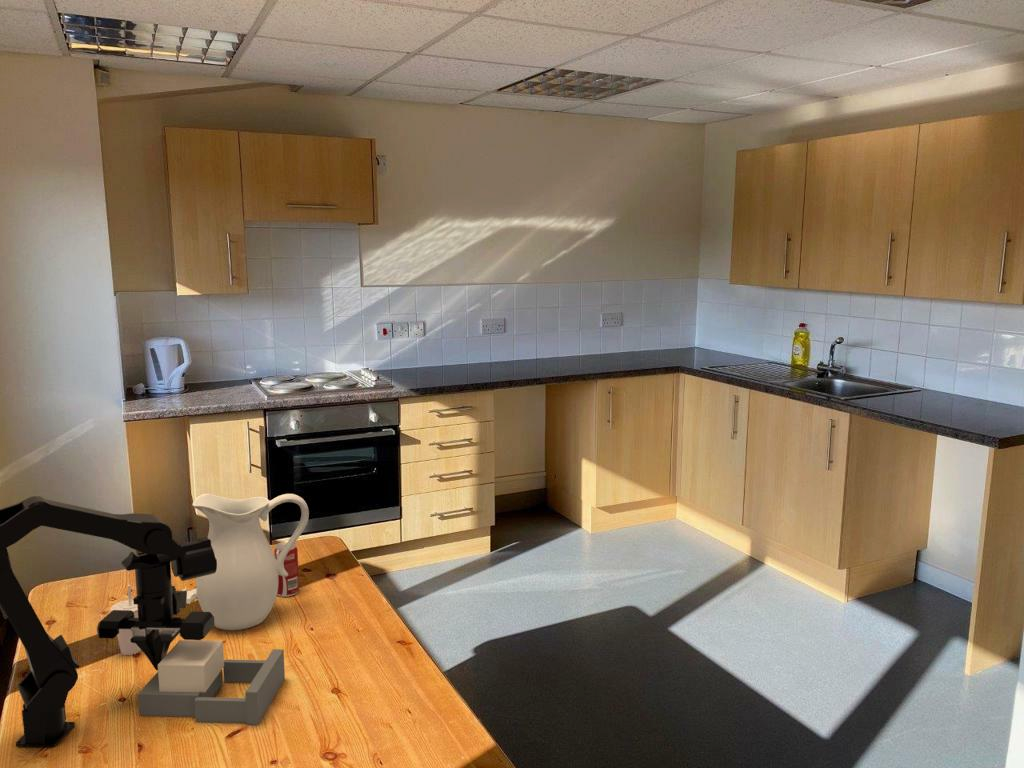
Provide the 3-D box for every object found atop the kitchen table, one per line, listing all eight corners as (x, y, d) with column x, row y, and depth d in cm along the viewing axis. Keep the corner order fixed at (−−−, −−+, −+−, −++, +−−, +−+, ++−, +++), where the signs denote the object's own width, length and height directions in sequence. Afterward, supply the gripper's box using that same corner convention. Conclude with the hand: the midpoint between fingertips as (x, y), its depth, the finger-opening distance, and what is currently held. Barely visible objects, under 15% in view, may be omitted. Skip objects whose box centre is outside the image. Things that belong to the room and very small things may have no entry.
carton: (205, 692, 141) (203, 665, 141) (159, 691, 142) (157, 664, 141) (224, 666, 150) (222, 640, 150) (181, 665, 150) (179, 640, 150)
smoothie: (135, 660, 160) (130, 593, 158) (106, 657, 161) (101, 590, 159) (155, 645, 166) (150, 580, 164) (127, 642, 168) (122, 577, 165)
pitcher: (194, 641, 168) (186, 511, 163) (202, 607, 184) (195, 488, 180) (313, 628, 174) (309, 503, 170) (311, 596, 190) (307, 481, 186)
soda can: (274, 590, 193) (272, 542, 191) (296, 587, 195) (295, 539, 193) (278, 599, 188) (276, 549, 187) (300, 595, 191) (299, 546, 189)
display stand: (258, 724, 139) (256, 692, 138) (133, 722, 139) (131, 689, 138) (284, 679, 154) (283, 649, 153) (172, 676, 154) (170, 647, 153)
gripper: (223, 569, 151) (227, 648, 154) (123, 568, 151) (129, 646, 154) (199, 595, 140) (204, 679, 143) (92, 593, 140) (98, 677, 143)
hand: (159, 669), depth 146 cm, fingers closed
